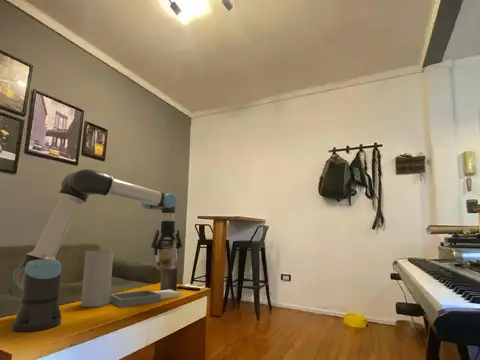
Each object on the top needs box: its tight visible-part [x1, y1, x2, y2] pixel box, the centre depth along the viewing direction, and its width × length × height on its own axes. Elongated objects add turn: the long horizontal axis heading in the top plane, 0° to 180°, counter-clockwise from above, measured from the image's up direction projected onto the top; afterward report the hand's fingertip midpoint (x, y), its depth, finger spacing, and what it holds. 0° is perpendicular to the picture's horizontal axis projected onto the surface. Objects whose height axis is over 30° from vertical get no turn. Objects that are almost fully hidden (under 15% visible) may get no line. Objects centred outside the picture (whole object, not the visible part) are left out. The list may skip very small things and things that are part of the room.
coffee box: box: [156, 238, 177, 270], centre depth 171 cm, size 9×6×16 cm
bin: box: [109, 289, 162, 309], centre depth 153 cm, size 20×16×4 cm
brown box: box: [159, 266, 178, 291], centre depth 185 cm, size 10×10×15 cm
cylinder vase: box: [80, 250, 114, 308], centre depth 149 cm, size 12×12×25 cm
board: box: [152, 290, 181, 300], centre depth 167 cm, size 12×12×2 cm
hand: (166, 260), depth 170 cm, fingers closed on coffee box, 10 cm apart
